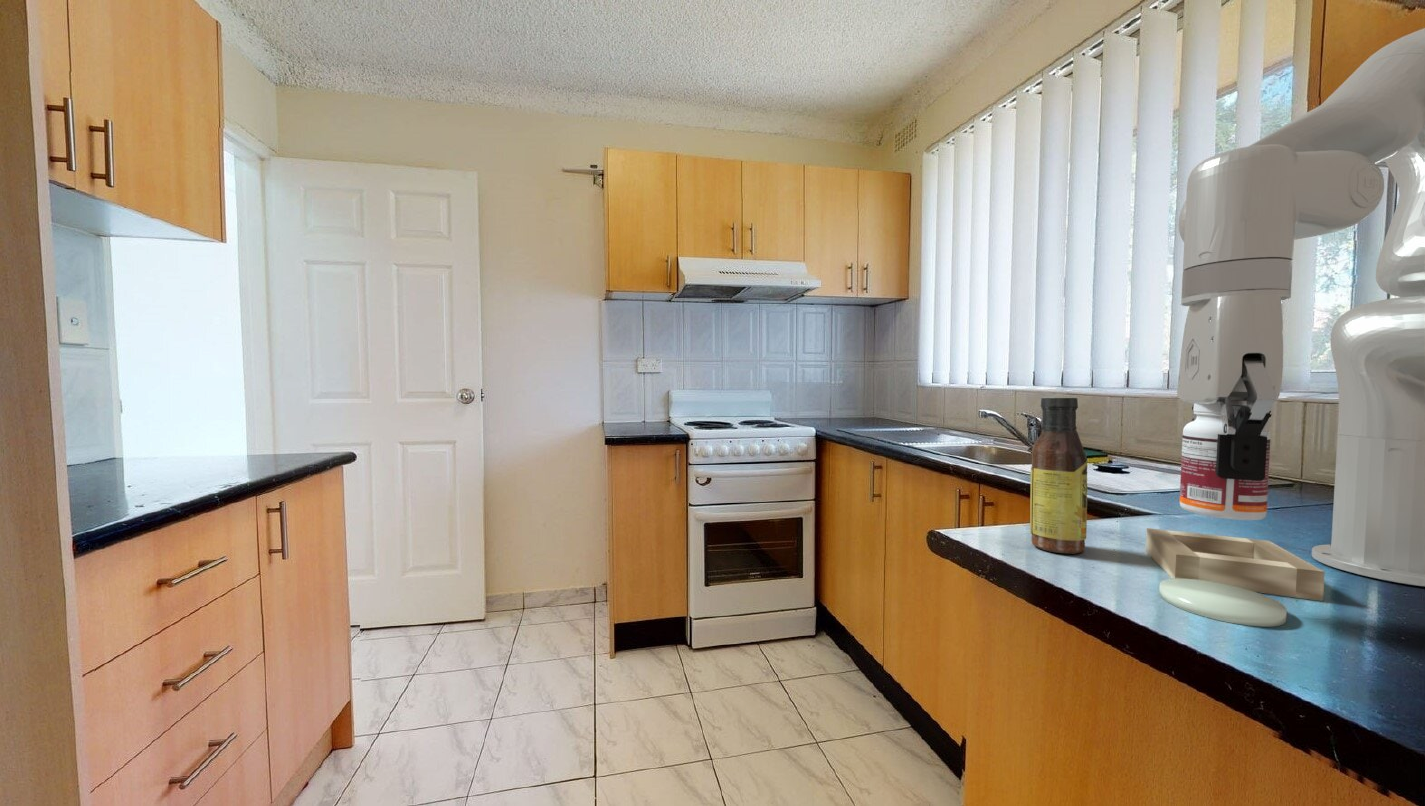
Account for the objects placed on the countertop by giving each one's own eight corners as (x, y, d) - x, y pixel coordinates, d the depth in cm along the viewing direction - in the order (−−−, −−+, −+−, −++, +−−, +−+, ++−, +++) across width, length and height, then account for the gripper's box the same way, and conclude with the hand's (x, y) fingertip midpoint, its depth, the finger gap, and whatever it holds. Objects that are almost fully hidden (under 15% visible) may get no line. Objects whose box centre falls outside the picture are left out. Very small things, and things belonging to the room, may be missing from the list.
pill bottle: (1253, 511, 53) (1260, 400, 53) (1277, 525, 48) (1286, 402, 47) (1171, 503, 56) (1178, 398, 56) (1186, 515, 51) (1193, 400, 51)
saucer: (1259, 597, 55) (1260, 587, 54) (1307, 634, 46) (1308, 623, 46) (1148, 582, 59) (1148, 573, 59) (1175, 614, 51) (1175, 603, 50)
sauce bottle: (1095, 557, 67) (1101, 398, 66) (1040, 554, 68) (1045, 397, 67) (1071, 542, 73) (1076, 396, 72) (1021, 539, 74) (1025, 395, 73)
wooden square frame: (1267, 565, 64) (1268, 540, 64) (1323, 601, 54) (1324, 571, 54) (1145, 551, 69) (1146, 528, 69) (1174, 581, 59) (1176, 554, 59)
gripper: (1157, 301, 61) (1150, 459, 61) (1218, 272, 45) (1207, 484, 46) (1246, 297, 57) (1237, 464, 58) (1344, 265, 42) (1330, 494, 43)
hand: (1224, 471), depth 52 cm, fingers closed on pill bottle, 6 cm apart
